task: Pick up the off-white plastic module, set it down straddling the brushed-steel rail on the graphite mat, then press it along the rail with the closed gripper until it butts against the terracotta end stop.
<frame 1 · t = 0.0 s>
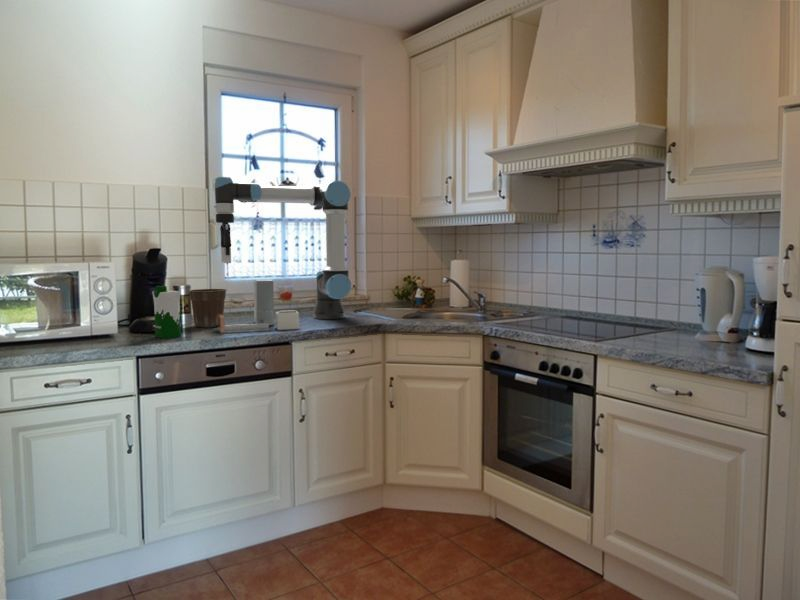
hand: (226, 262, 267), 28 cm above the counter, tool pointing down, fingers open, 13 cm apart
rail dock: (244, 330, 257), on the counter
hard drive box: (264, 324, 278), on the counter
milk carton: (168, 337, 239), on the counter
din module: (287, 328, 263), on the counter
plant pot: (208, 326, 270), on the counter
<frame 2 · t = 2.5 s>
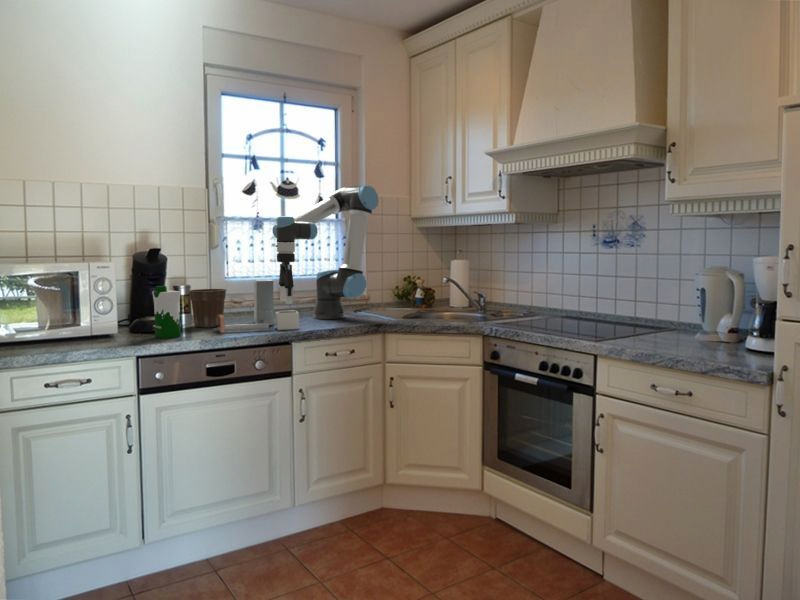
hand: (286, 302, 262), 11 cm above the counter, tool pointing down, fingers open, 13 cm apart
nothing on the counter moved.
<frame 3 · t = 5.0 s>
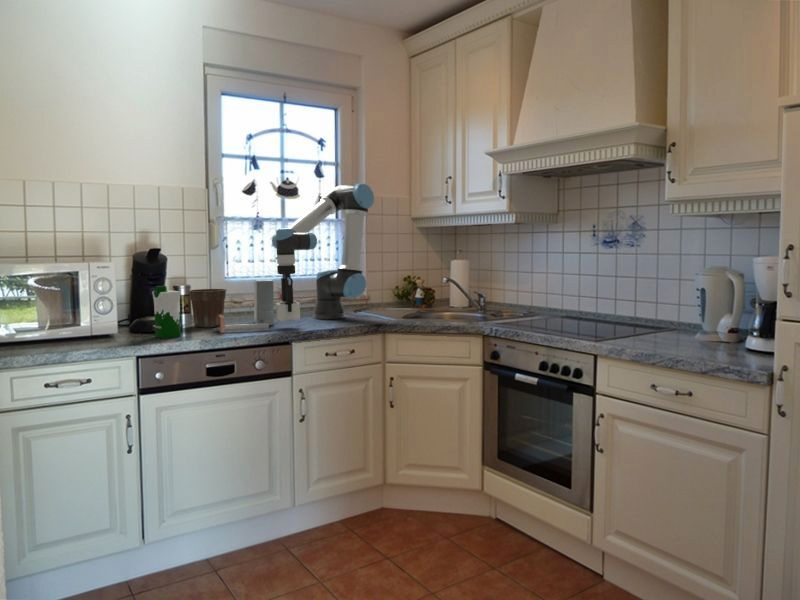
hand: (288, 318, 263), 4 cm above the counter, tool pointing down, fingers closed on din module, 6 cm apart
din module: (288, 319, 263), point 4 cm above the counter, touching gripper
everything else where it was.
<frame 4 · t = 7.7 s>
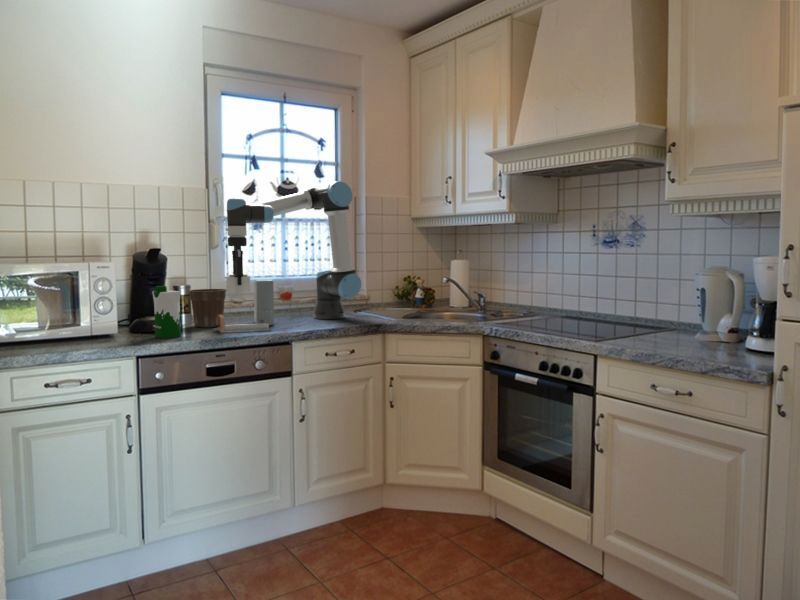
hand: (238, 292, 254), 16 cm above the counter, tool pointing down, fingers closed on din module, 6 cm apart
din module: (238, 293, 254), point 16 cm above the counter, touching gripper
everything else where it was.
when the fingers open (1 cm above the counter, at t = 10.7 s): din module stays where it is, resting on rail dock.
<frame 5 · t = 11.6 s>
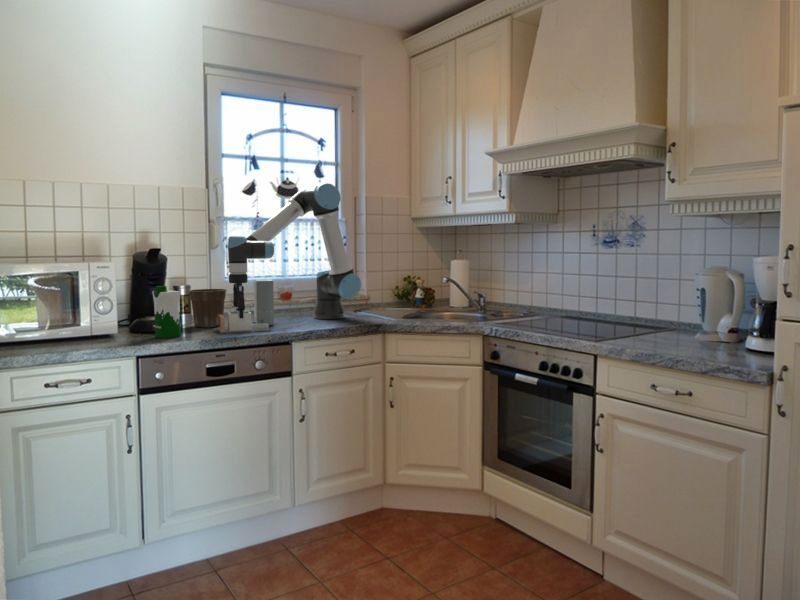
hand: (239, 324, 256), 3 cm above the counter, tool pointing down, fingers open, 13 cm apart
din module: (239, 329, 256), resting on rail dock
everything else where it was.
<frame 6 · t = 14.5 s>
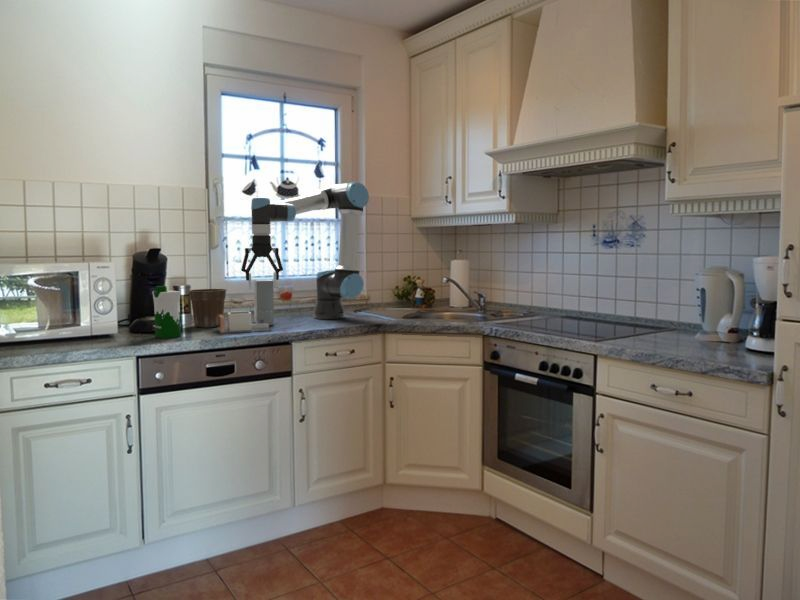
hand: (262, 288, 258), 18 cm above the counter, tool pointing down, fingers open, 10 cm apart
nothing on the counter moved.
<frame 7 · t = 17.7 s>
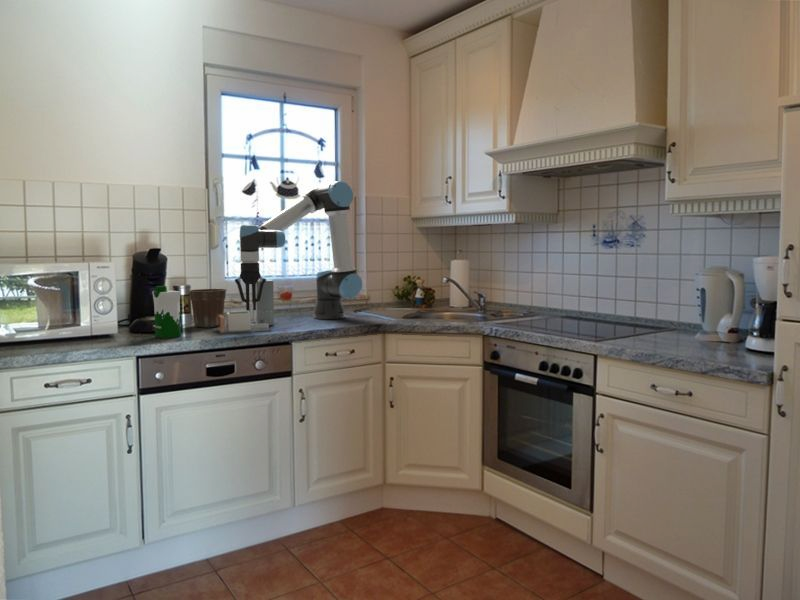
hand: (251, 318, 257), 5 cm above the counter, tool pointing down, fingers closed
din module: (238, 329, 256), point 1 cm above the counter, touching gripper, rail dock
everything else where it was.
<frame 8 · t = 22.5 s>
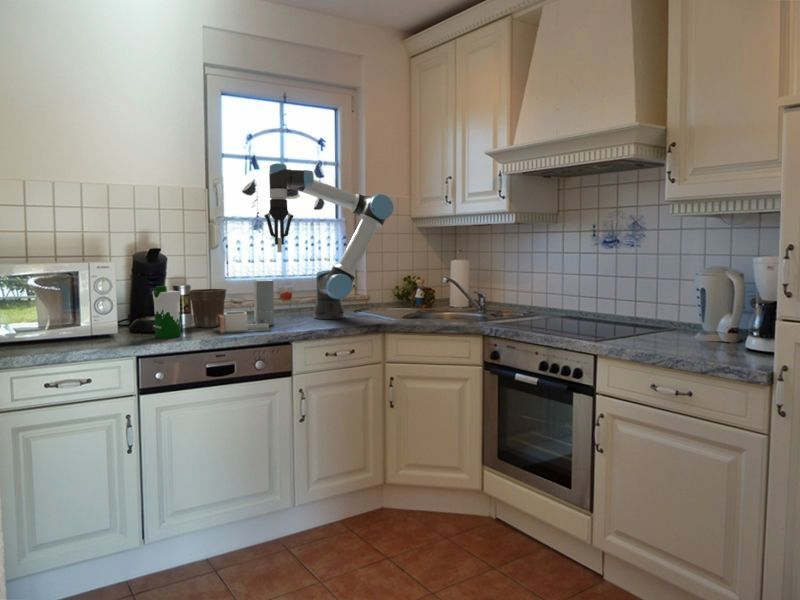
hand: (279, 252, 274), 32 cm above the counter, tool pointing down, fingers closed
din module: (235, 329, 255), resting on rail dock
everything else where it was.
at the end: din module 0.8 cm from the target spot on the rail dock, point 0.5 cm above the rail dock's base; din module tilted 0°; the gripper is holding nothing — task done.
